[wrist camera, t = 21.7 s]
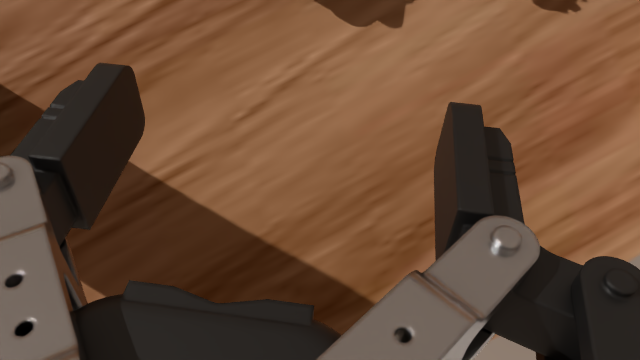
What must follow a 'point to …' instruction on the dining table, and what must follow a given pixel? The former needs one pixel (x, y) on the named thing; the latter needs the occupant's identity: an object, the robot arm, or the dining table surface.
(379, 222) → the dining table surface
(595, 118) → the dining table surface
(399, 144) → the dining table surface
